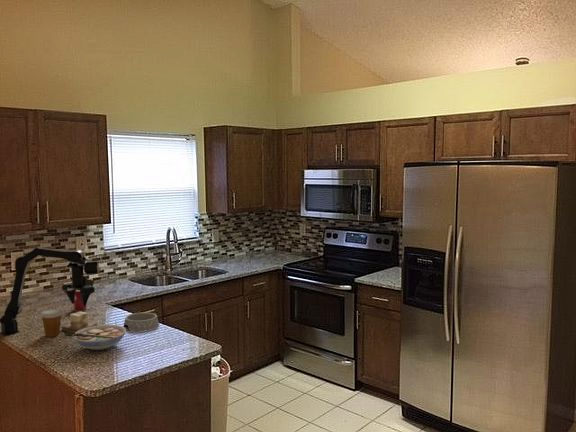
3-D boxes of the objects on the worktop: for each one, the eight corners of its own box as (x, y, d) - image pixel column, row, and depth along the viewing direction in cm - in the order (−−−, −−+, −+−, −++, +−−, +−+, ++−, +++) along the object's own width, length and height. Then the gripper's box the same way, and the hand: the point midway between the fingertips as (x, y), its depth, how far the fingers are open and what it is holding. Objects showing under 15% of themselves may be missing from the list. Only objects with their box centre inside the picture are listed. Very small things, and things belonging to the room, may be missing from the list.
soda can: (72, 312, 284) (71, 291, 283) (74, 308, 291) (73, 288, 290) (86, 311, 286) (85, 290, 285) (87, 307, 293) (86, 288, 292)
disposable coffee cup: (42, 333, 247) (41, 309, 246) (63, 330, 251) (62, 307, 250) (41, 339, 238) (40, 315, 237) (62, 336, 242) (61, 312, 241)
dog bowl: (147, 319, 272) (147, 309, 271) (164, 326, 259) (164, 316, 259) (118, 326, 260) (117, 316, 259) (135, 334, 247) (134, 323, 247)
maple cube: (78, 327, 250) (77, 316, 249) (70, 325, 253) (70, 314, 252) (88, 324, 255) (87, 313, 254) (80, 322, 258) (80, 311, 257)
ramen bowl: (138, 341, 235) (137, 324, 234) (110, 359, 213) (109, 340, 212) (91, 337, 241) (91, 321, 240) (60, 354, 219) (59, 336, 218)
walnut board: (77, 334, 246) (77, 330, 246) (61, 330, 252) (61, 326, 252) (97, 327, 256) (97, 323, 256) (82, 323, 262) (81, 320, 262)
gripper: (103, 273, 254) (104, 303, 255) (79, 270, 263) (80, 298, 264) (84, 277, 244) (85, 308, 246) (60, 274, 253) (62, 303, 255)
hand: (78, 304), depth 253 cm, fingers open, 9 cm apart
